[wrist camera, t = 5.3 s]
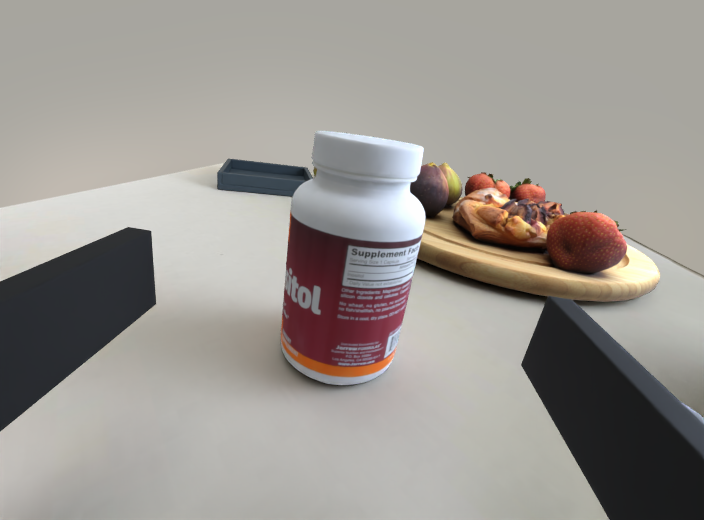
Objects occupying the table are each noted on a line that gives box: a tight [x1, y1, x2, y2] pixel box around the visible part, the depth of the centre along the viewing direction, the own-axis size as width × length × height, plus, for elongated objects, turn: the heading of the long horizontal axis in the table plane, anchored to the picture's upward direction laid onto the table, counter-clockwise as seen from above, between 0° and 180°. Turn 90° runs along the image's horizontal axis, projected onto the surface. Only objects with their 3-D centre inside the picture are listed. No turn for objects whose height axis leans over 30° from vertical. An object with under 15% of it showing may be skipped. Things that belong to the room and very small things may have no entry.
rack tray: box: [217, 159, 313, 196], centre depth 56 cm, size 13×13×2 cm
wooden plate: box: [410, 162, 660, 302], centre depth 42 cm, size 32×32×8 cm
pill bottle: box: [281, 131, 425, 385], centre depth 17 cm, size 6×6×11 cm
